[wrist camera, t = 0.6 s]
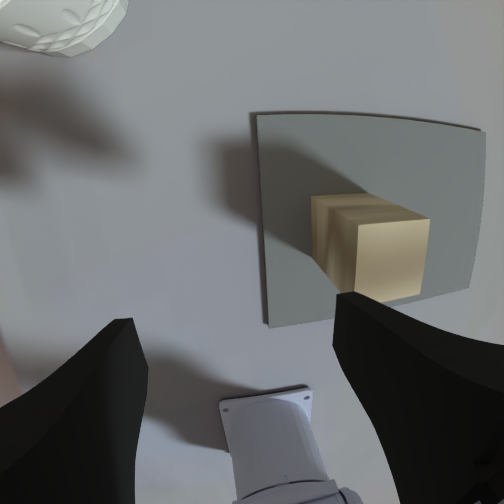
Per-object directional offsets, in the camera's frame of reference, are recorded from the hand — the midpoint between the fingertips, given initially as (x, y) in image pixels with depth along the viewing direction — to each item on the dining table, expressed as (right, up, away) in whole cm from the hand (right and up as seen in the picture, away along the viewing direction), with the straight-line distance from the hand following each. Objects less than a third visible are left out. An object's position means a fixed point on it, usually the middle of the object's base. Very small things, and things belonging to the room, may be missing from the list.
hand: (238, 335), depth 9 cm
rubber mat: (+11, +5, +11) cm, 16 cm away
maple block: (+6, +4, +10) cm, 12 cm away
